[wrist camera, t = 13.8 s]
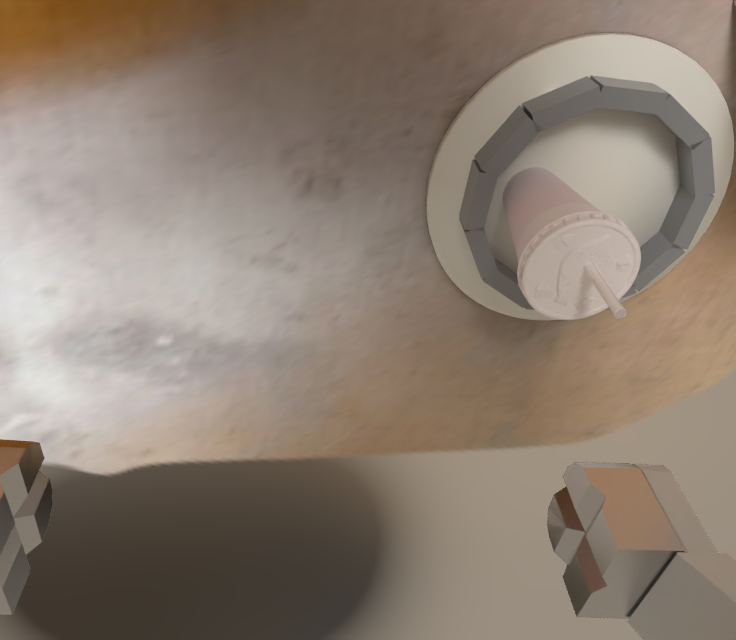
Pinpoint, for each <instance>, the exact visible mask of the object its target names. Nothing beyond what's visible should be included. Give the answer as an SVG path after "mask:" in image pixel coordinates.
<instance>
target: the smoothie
mask: <svg viewBox="0 0 736 640" xmlns="http://www.w3.org/2000/svg"><path fill="white" fill-rule="evenodd" d="M503 204H504V208H505V212H506V216H507V219H508V223H509V227H510V231H511V235H512V239H513V242H514V246H515V250H516V254H517V258H518V269H517V278H518V285H519V287H520V289H521V291H522V293H523V295H524V297H525V298H526V299H527V301H528V303H529V304H530V305H531V306H532V307H533V308H534V309H535V310H536V311H537V312H539V313H540V314H542V315H544V316H547V317H550V318H553V319H559V320H576V319H581V318H586V317H589V316H592V315H595V314H597V313H599V312H601V311H603V310H605V309H607V308H608V307H609V309H610V310H611V312H612V313H613V315H614V316H615V318H617V319H620V318H623V317H624V316H625V315H626V310H625V309H624V307H623V306H622V304H621V303H620V301H619V299H620V298H621V297H622V296H623V295H624V294H625V293H626V292H627V291H628V290H629V288H630V287H631V286H632V284H633V282H634V281H635V279H636V277H637V274H638V272H639V268H640V263H641V251H640V247H639V244H638V242H637V240H636V238H635V237H634V235H633V234H632V232H631V230H630V229H629V228H628V227H627V226H626V224H625V223H624V222H623V221H622V220H620V219H618V218H617V217H615V216H613V215H611V214H608V213H603V212H601V211H600V210H599V209H597V208H596V207H594V206H593V205H592V204H591V203H589V202H588V201H587V200H586V199H584V198H583V197H582V196H581V195H579V194H578V193H577V192H576V191H574V190H573V189H572V188H571V187H569V186H568V185H567V184H566V183H564V182H563V181H562V180H561V179H559V178H558V177H557V176H556V175H554V174H553V173H552V172H551V171H549V170H547V169H545V168H541V167H531V168H527V169H524V170H522V171H520V172H518V173H517V174H515V175H514V176H513V177H512V178H511V179H510V180H509V182H508V183H507V185H506V187H505V189H504V192H503Z"/></svg>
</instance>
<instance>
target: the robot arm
mask: <svg viewBox="0 0 736 640" xmlns="http://www.w3.org/2000/svg"><path fill="white" fill-rule="evenodd" d="M43 460H44V456H43V452H42V449H41V446H40V443H37V442H30V441H15V440H0V615H12V614H13V611H14V609H15V607H16V604H17V602H18V599H19V597H20V594H21V592H22V589H23V587H24V585H25V582H26V580H27V577H28V574H29V572H30V567H29V564H28V561H27V558H26V554H27V553H29V552H30V551H31V550H32V549H34V548H35V547H36V546H37V545H39V544H40V543H41V542H42V540H43V537H44V535H45V532H46V529H47V527H48V524H49V519H50V514H51V509H52V487H51V482H50V478H48V477H47V476H46V475H44V474H43V473H42V472H40V471H39V469H40V467H41V465H42V462H43ZM563 479H564V481H565V484H566V487H565V488H563V489H562V490H560V491H559V492H557V493H556V494H554V496H553V498H552V501H551V503H550V505H549V508H548V521H547V525H548V532H549V538H550V541H551V544H552V547H553V550H554V552H555V553H556V554H557V555H558V556H559V557H560V558H561V559H562V560H563V561H564V562H565V563H566V564H567V567H566V570H565V573H564V575H563V579H564V582H565V585H566V588H567V590H568V594H569V596H570V599H571V602H572V605H573V608H574V611H575V614H576V616H577V617H591V618H621V619H622V618H623V619H628V621H627V622H628V623H629V624H630V625H631V627H632V628H633V629H634V630H635V631H636V632H637V633H638V634H639V636H640V637H642V639H643V640H736V560H735V559H734V558H732V557H731V556H730V555H728V554H724V553H718V551H717V550H716V548H715V546H714V544H713V543H712V541H711V539H710V538H709V536H708V534H707V532H706V531H705V529H704V528H703V526H702V524H701V522H700V521H699V519H698V517H697V516H696V514H695V512H694V510H693V509H692V507H691V505H690V503H689V502H688V500H687V499H686V497H685V495H684V493H683V492H682V490H681V488H680V487H679V485H678V483H677V481H676V480H675V478H674V476H673V474H672V473H671V471H670V470H669V469H667V468H666V467H665V466H664V465H648V464H629V463H595V462H574V463H572V464H571V465H570V466H568V467H567V470H566V471H565V473H564V475H563Z"/></svg>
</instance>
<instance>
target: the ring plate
mask: <svg viewBox="0 0 736 640" xmlns="http://www.w3.org/2000/svg"><path fill="white" fill-rule="evenodd" d="M733 159H734V133H733V125H732V119H731V116H730V113H729V109H728V106H727V103H726V101H725V99H724V97H723V95H722V93H721V91H720V89H719V87H718V86H717V84H716V83H715V82H714V81H713V79H712V78H711V77H710V75H709V74H708V73H707V72H706V71H705V70H704V69H703V68H702V67H701V66H700V65H699V64H698V63H696V62H695V61H694V60H693V59H691V58H690V57H688V56H686V55H685V54H683V53H682V52H680V51H678V50H677V49H675V48H673V47H671V46H669V45H667V44H664V43H662V42H659V41H657V40H654V39H652V38H648V37H644V36H639V35H635V34H630V33H614V32H604V33H593V34H584V35H579V36H575V37H571V38H566V39H562V40H559V41H557V42H554V43H551V44H548V45H546V46H543V47H540V48H538V49H536V50H534V51H532V52H530V53H528V54H526V55H524V56H522V57H521V58H519V59H517V60H516V61H514V62H513V63H511V64H510V65H508V66H507V67H505V68H504V69H502V70H501V71H499V72H498V73H497V74H496V75H495V76H493V77H492V78H491V79H490V80H489V81H487V82H486V83H485V84H484V85H483V86H482V87H481V88H480V89H479V90H478V91H477V92H476V93H475V94H474V95H473V96H472V97H471V98H470V99H469V100H468V101H467V103H466V104H465V105H464V106H463V108H462V109H461V110H460V112H459V113H458V114H457V116H456V117H455V118H454V120H453V121H452V123H451V125H450V126H449V128H448V130H447V132H446V133H445V135H444V137H443V139H442V140H441V143H440V145H439V148H438V150H437V152H436V155H435V157H434V160H433V163H432V167H431V171H430V174H429V178H428V185H427V193H426V217H427V223H428V230H429V234H430V237H431V240H432V243H433V247H434V250H435V253H436V255H437V257H438V259H439V261H440V263H441V265H442V267H443V269H444V270H445V272H446V273H447V275H448V276H449V277H450V279H451V280H452V281H453V282H454V283H455V285H456V286H457V287H458V288H459V289H460V290H461V291H462V292H464V293H465V294H466V295H467V296H469V297H470V298H471V299H473V300H474V301H476V302H477V303H479V304H481V305H483V306H485V307H486V308H488V309H491V310H493V311H496V312H498V313H501V314H504V315H508V316H512V317H516V318H521V319H529V320H559V319H553V318H550V317H547V316H544V315H542V314H540V313H539V312H537V311H536V310H535V309H534V308H533V307H532V306H531V305H530V304H529V303H528V301H527V299H526V298H525V297H524V295H523V293H522V291H521V289H520V287H519V285H518V278H517V269H518V258H517V254H516V250H515V246H514V242H513V239H512V235H511V231H510V227H509V223H508V219H507V216H506V212H505V208H504V204H503V192H504V189H505V187H506V185H507V183H508V182H509V180H510V179H511V178H512V177H513V176H514V175H515V174H517V173H518V172H520V171H522V170H524V169H527V168H531V167H541V168H545V169H547V170H549V171H551V172H552V173H553V174H554V175H556V176H557V177H558V178H559V179H561V180H562V181H563V182H564V183H566V184H567V185H568V186H569V187H571V188H572V189H573V190H574V191H576V192H577V193H578V194H579V195H581V196H582V197H583V198H584V199H586V200H587V201H588V202H589V203H591V204H592V205H593V206H594V207H596V208H597V209H599V210H600V211H601V212H603V213H608V214H611V215H613V216H615V217H617V218H618V219H620V220H622V221H623V222H624V223H625V224H626V226H627V227H628V228H629V229H630V230H631V232H632V234H633V235H634V237H635V238H636V240H637V242H638V244H639V247H640V251H641V263H640V268H639V272H638V274H637V277H636V279H635V281H634V282H633V284H632V286H631V287H630V288H629V290H628V291H627V292H626V293H625V294H624V295H623V296H622V297H621V298H620V299H619V301H620V303H622V302H624V301H626V300H628V299H630V298H632V297H634V296H636V295H638V294H639V293H641V292H642V291H644V290H645V289H647V288H649V287H650V286H652V285H653V284H655V283H656V282H657V281H659V280H660V279H661V278H662V277H664V276H665V275H666V274H668V273H669V272H670V271H671V270H672V269H673V268H674V267H675V266H676V265H678V264H679V263H680V262H681V261H682V260H683V259H684V258H685V257H686V255H687V254H688V253H689V252H690V251H691V250H692V249H693V248H694V247H695V245H696V244H697V243H698V241H699V240H700V239H701V237H702V236H703V235H704V233H705V232H706V230H707V229H708V227H709V226H710V224H711V222H712V220H713V219H714V217H715V215H716V214H717V212H718V209H719V207H720V205H721V203H722V200H723V198H724V196H725V193H726V190H727V186H728V183H729V180H730V177H731V171H732V165H733ZM608 308H609V307H608ZM608 308H607V309H608Z"/></svg>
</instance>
